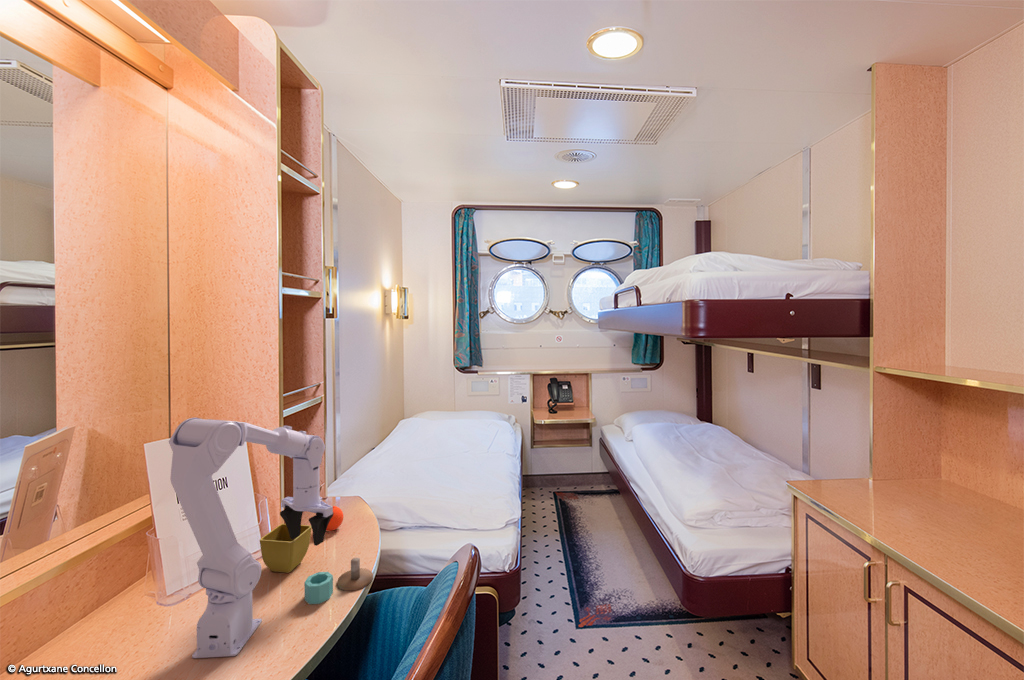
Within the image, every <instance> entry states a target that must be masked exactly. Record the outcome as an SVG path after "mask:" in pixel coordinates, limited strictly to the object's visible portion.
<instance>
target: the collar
mask: <svg viewBox="0 0 1024 680" xmlns="http://www.w3.org/2000/svg"><path fill="white" fill-rule="evenodd" d="M333 593H334V575H333V574H332V573H331V572H330V571H317V572H315V573H313V574H311V575H308V576H307V578H306V579H305V581H304V601H305V602H306V603H307V604H308V605H320V604H322V603H324V602H326V601H328V600H330V599H331V597H332V595H333Z"/></svg>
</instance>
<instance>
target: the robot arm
mask: <svg viewBox="0 0 1024 680" xmlns="http://www.w3.org/2000/svg"><path fill="white" fill-rule="evenodd" d="M245 443H250V444H251V443H252V444H258V445H263V446H264V445H265V447H266V449H267V451H268V452H269V453H271V454H275V455H279V456H284V457H285V456H286V457H289V458H290V459H292V470H293V471H292V473H293V474H292V482H293V483H292V486H293V487H292V490H293V491H292V493H293V494H292V495H293V496H286V497H284V498H282V499H281V508H284V509H283V510H281V511H280V512H279V516H280V517H281V518H282V520H283V521H284V524H286V526H287V528H288V531H289V535H290V538H291V539H294V538H296V537H298V536H300V532H301V525H302V518H303V515H304V512H308V513H314V514H315V515H313V516H311V517H309V518H308V522H309V524H310V526H311V527H312V529H311V532H312V543H313V545H314V546H318V545H320V544H323V542H324V539H325V534H326V532H327V531H326V529H327V526H328V524H329V522H330V520H331V518H332V516H333V506H334V505H330V504H327V503H326V502H325V501H324V500H323V497H322V496H320V495H321V493H320V491H321V490H320V488H321V487H320V486H321V485H320V484H321V483H320V481H321V480H320V479H321V478H320V475H321V474H320V473H321V472H320V471H321V469H320V467H321V465H322V462H323V455H324V453H325V451H326V444H325V443H324V440H323V439H322V437H321V436H319V435H313V434H307V431H304V430H299V431H297V430H294V429H293V426H290V425H283V426H278V427H276V428H274V429H272V430H271V429H267V428H264V427H261V426H259V425H255V424H252V423H249V422H246V421H245V422H244V421H236V420H225V419H208V418H207V419H204V418H200V417H189V418H187V419H185V420H183V421H182V422H180V423H179V425H177V427H176V429H175V430H174V432H173V434H172V435H171V437H170V438H169V439H168V444H169V446H170V448H171V451H172V458H171V468H170V483H171V486H172V488H173V490H174V493H175V495H176V497H177V500H178V502H179V504H180V506H181V509H182V511H183V513H184V515H185V518H186V519H187V522H188V524H189V526H190V529H191V531H192V534H193V537H194V538H195V540H196V542H197V545H198V547H199V550H200V552H201V553H202V555H201V556H200V557H199V559H198V560H197V562H196V566H197V568H198V575H197V576H198V577H197V578H198V579H197V580H198V584H199V586H200V587H201V588H203V589H205V595H206V596H207V604H206V608H205V610H204V612H203V614H202V615H201V616H200V618H199V619H198V621H197V622H196V650H194V652H193V653H192V655H191V657H192V658H191V659H201V658H202V659H204V658H221V657H235V656H237V655H238V654H239V653H240V651H241V650H242V649H243V648H244V647H245V645H246V644H247V642H248V641H249V639H250V638H251V637H252V635H253V634H254V633H255V631H256V630H257V628H258V627H259V626H260V624H261V623H262V621H263V619H262V618H254V617H253V615H254V614H253V591H254V590H255V588H256V586H257V585H258V583H259V581H260V580H261V579H260V578H261V575H262V565H261V563H260V561H258V560H256V559H255V558H253V556H252V553H251V552H250V551H249V550H248V549H246V548H245V547H244V546H243V545H241V544H240V543H239V542H238V540H237V537H236V535H235V532H234V530H233V527H232V525H231V523H230V520H229V516H228V515H227V512H226V509H225V508H224V507H225V506H224V505H223V502H222V500H221V497H220V495H219V492H218V489H217V487H216V484H215V483H214V479H213V475H214V474H215V473H217V472H218V471H219V470H220V469H221V468H222V466H224V464H225V463H226V461H227V460H228V459H229V458H230V457H231V456H232V455H233V454H234V453H235V451H236V450H237V448H238V447H242V446H244V445H245Z"/></svg>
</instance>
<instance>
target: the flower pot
mask: <svg viewBox="0 0 1024 680" xmlns="http://www.w3.org/2000/svg"><path fill="white" fill-rule="evenodd" d="M311 536H312V527H311V525H307V524H306V525H305V524H301V532H300V536H298V537H296V538H294V539H291V538H290V535H289V531H288V528H287V526H286V523H281V524H279V525H278V526H276V527H275V528H273V529H272V530H271V531H269V532H268V533H266V534H265V535H263V536H262V537H261V538H260V539H259V544H260V552H261V558H262V560H263V564H264V565H265V566H266V568H267V569H268V570H270V571H271V572H276V573H291V572H292V571H293V570H294V569H295V568H296V567H297V566H298V565H300V564H302V561H303V560H304V558H305V556H306V554H307V552H308V550H309V546H310V542H311Z"/></svg>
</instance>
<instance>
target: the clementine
mask: <svg viewBox="0 0 1024 680" xmlns="http://www.w3.org/2000/svg"><path fill="white" fill-rule="evenodd" d="M332 506H333V516H332V518H331V520H330V522H329V524H328V526H327V529H326V532H333V531H335V530H337V529H339V528H340V527H341V525H342V523H343V521H344V513H343V510H342V509H341V508H340V507H339V506H336V505H332Z"/></svg>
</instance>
